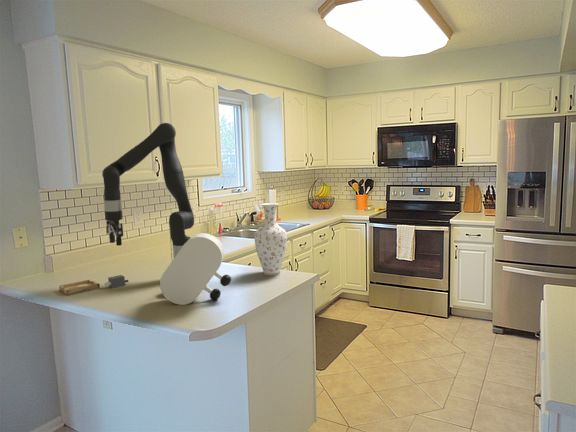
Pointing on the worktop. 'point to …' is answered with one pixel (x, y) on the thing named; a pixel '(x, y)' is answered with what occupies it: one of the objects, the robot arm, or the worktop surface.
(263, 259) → the vase
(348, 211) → the worktop surface
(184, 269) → the robot
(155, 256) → the worktop surface
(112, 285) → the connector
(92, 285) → the tray
